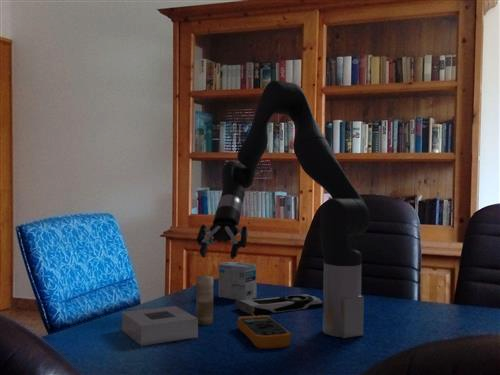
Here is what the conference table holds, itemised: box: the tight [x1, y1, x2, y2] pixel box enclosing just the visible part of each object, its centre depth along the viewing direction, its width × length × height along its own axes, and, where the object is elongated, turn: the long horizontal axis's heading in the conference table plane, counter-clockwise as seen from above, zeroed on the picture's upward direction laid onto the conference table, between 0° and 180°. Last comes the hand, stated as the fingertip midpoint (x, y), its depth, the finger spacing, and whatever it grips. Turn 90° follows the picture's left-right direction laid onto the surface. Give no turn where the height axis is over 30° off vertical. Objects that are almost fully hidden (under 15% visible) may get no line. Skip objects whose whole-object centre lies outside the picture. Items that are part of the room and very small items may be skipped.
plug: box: [195, 274, 214, 326], centre depth 143 cm, size 4×4×12 cm
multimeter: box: [237, 314, 292, 350], centre depth 131 cm, size 9×18×3 cm, turn 17°
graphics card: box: [234, 293, 323, 316], centre depth 160 cm, size 10×3×25 cm
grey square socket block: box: [121, 305, 199, 347], centre depth 133 cm, size 14×14×4 cm
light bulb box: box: [217, 261, 258, 301], centre depth 173 cm, size 11×7×11 cm, turn 58°
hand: (217, 256), depth 154 cm, fingers open, 8 cm apart
